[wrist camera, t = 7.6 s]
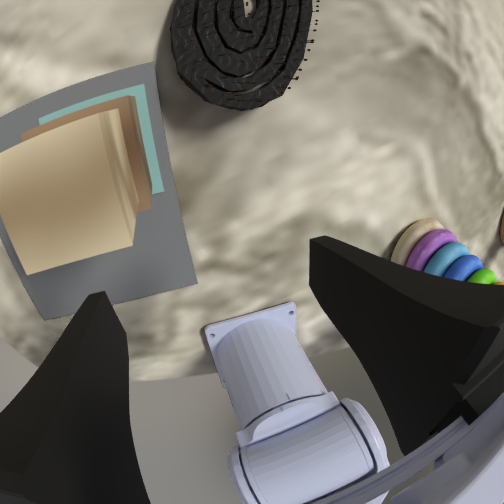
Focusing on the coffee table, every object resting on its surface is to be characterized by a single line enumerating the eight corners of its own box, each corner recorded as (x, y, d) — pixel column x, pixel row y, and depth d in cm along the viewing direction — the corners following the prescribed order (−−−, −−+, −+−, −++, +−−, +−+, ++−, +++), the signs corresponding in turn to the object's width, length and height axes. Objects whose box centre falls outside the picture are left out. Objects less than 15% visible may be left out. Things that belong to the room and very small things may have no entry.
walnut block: (152, 184, 16) (151, 208, 13) (71, 207, 15) (52, 237, 12) (135, 96, 14) (127, 95, 10) (48, 124, 12) (20, 133, 9)
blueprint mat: (196, 279, 21) (197, 284, 21) (45, 316, 19) (44, 321, 18) (153, 62, 13) (153, 61, 13) (-27, 134, 11) (-32, 136, 10)
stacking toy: (384, 293, 29) (497, 421, 14) (385, 232, 25) (542, 373, 9) (433, 264, 30) (542, 365, 15) (439, 205, 26) (580, 308, 10)
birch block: (138, 200, 13) (132, 245, 9) (56, 224, 12) (27, 275, 8) (118, 108, 10) (98, 113, 7) (31, 139, 10) (-17, 161, 6)
